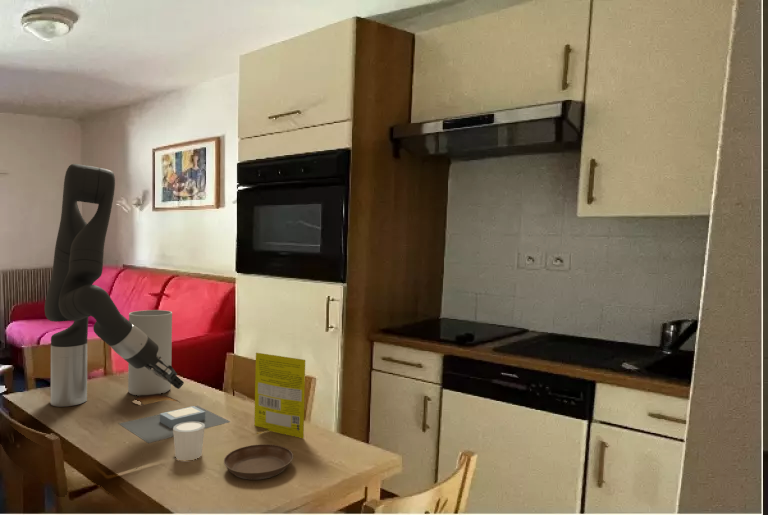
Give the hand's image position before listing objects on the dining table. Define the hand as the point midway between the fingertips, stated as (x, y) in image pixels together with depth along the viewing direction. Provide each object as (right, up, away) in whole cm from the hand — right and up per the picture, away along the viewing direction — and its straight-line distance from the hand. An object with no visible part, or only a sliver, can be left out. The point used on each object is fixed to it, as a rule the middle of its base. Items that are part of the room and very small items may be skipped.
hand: (180, 385), depth 142 cm
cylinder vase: (-20, -9, +28) cm, 36 cm away
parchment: (-11, -10, +15) cm, 21 cm away
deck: (-3, -9, -3) cm, 9 cm away
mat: (-1, -10, -1) cm, 10 cm away
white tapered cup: (+10, -12, -20) cm, 25 cm away
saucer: (+27, -13, -25) cm, 39 cm away
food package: (+27, -12, -4) cm, 30 cm away
